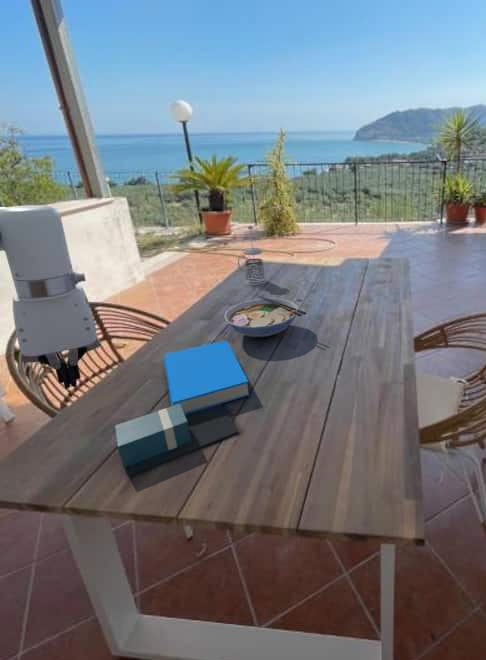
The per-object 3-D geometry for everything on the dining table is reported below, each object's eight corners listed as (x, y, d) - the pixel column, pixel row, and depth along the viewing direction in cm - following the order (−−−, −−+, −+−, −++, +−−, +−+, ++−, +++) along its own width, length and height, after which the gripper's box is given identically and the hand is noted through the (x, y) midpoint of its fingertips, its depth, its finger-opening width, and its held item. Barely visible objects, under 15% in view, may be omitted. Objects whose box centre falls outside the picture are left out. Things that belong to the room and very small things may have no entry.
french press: (266, 284, 169) (261, 227, 161) (239, 286, 167) (232, 228, 159) (267, 277, 178) (262, 223, 170) (241, 279, 176) (235, 224, 168)
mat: (130, 476, 71) (130, 474, 71) (124, 438, 80) (123, 436, 80) (238, 432, 82) (238, 431, 82) (221, 403, 91) (221, 402, 91)
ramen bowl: (212, 331, 126) (208, 308, 124) (271, 311, 142) (269, 290, 139) (253, 358, 110) (250, 333, 107) (315, 332, 126) (314, 309, 123)
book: (226, 339, 113) (249, 379, 92) (228, 353, 114) (251, 394, 94) (161, 354, 105) (170, 401, 84) (164, 368, 106) (173, 418, 86)
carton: (117, 446, 71) (187, 421, 77) (114, 425, 76) (180, 403, 83) (123, 468, 72) (191, 441, 79) (120, 445, 78) (183, 422, 84)
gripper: (100, 272, 69) (118, 363, 75) (-13, 285, 61) (18, 386, 67) (103, 283, 63) (122, 381, 69) (-22, 300, 55) (12, 409, 61)
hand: (71, 383), depth 68 cm, fingers closed
